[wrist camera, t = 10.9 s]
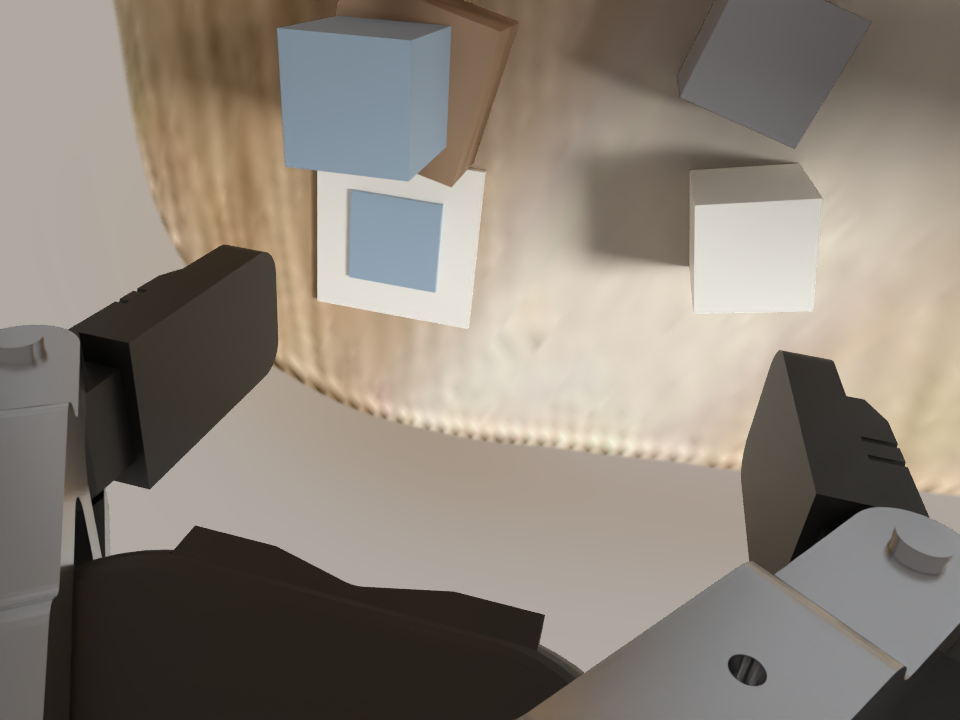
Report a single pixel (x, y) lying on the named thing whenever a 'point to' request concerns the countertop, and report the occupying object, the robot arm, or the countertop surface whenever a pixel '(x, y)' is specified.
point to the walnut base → (455, 69)
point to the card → (399, 244)
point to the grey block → (769, 62)
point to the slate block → (364, 95)
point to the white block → (753, 239)
